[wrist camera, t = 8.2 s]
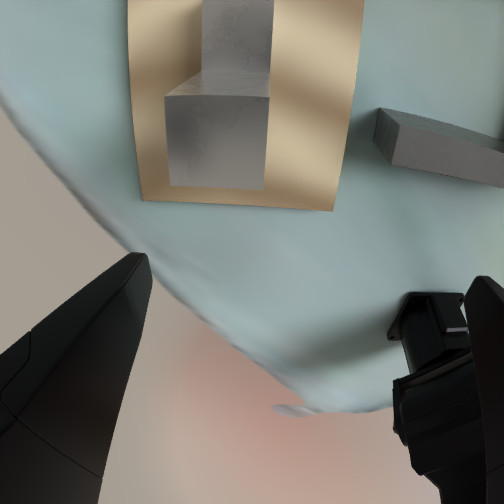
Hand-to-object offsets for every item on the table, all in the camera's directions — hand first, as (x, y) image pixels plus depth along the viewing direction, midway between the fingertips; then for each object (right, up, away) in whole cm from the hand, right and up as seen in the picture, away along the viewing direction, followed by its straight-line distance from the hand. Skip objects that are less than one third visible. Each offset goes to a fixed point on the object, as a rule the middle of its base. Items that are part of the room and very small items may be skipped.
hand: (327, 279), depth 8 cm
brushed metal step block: (-2, +11, +6) cm, 12 cm away
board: (-2, +10, +8) cm, 13 cm away
